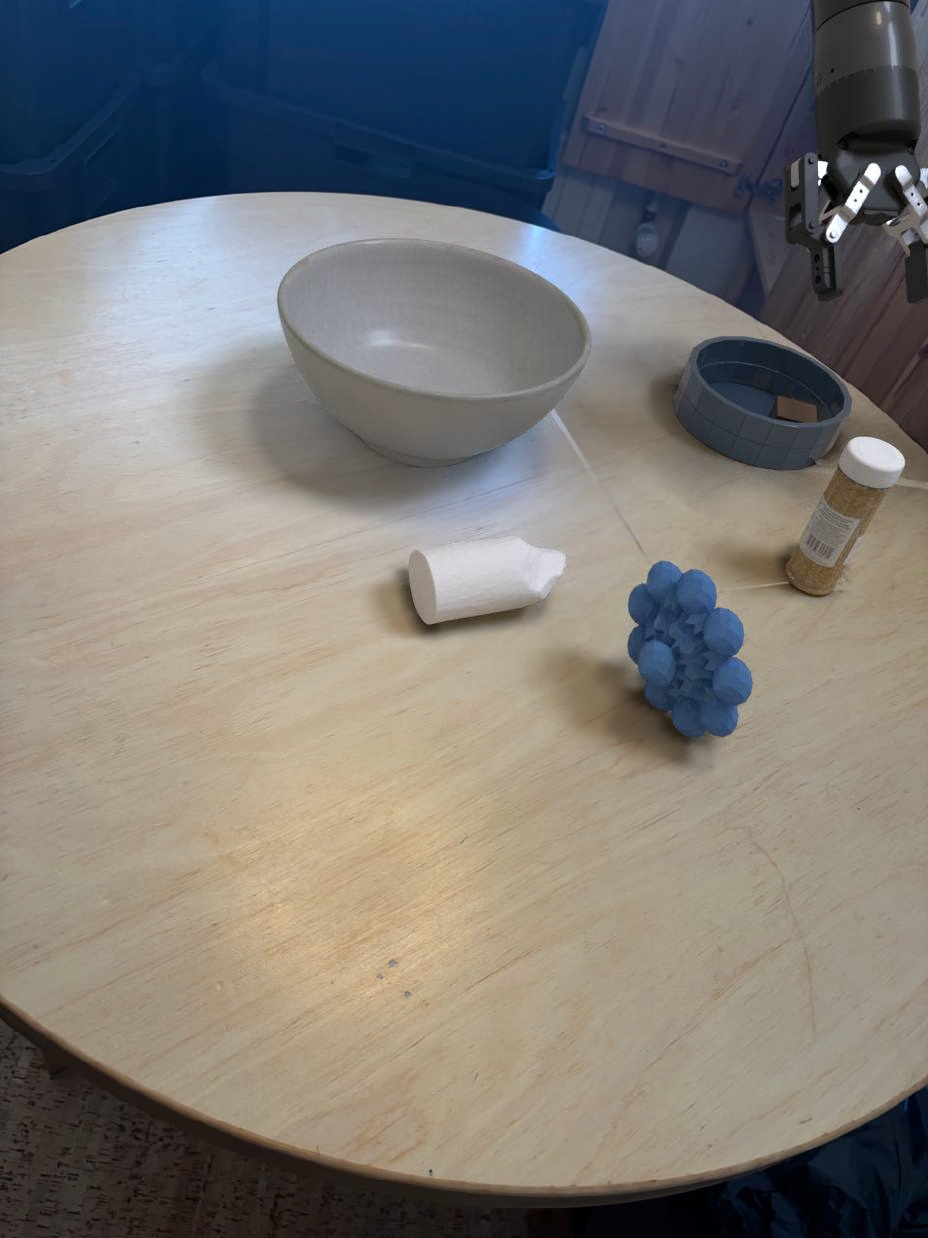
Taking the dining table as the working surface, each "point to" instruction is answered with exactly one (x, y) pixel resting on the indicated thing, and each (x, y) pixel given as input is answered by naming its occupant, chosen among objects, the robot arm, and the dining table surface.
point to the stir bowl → (759, 402)
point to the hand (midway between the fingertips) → (877, 299)
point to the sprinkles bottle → (844, 513)
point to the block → (793, 411)
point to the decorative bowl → (430, 345)
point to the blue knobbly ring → (688, 650)
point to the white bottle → (481, 577)
